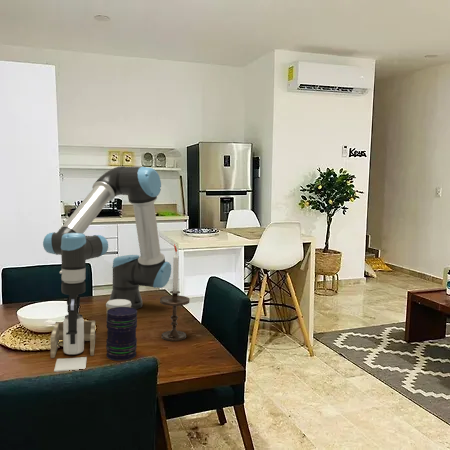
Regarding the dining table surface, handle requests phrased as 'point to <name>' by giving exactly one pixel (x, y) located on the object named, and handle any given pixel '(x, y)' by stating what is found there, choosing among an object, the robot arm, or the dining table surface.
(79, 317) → the can
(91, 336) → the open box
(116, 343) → the storage jar
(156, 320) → the dining table surface
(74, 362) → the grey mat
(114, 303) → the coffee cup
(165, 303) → the candlestick
